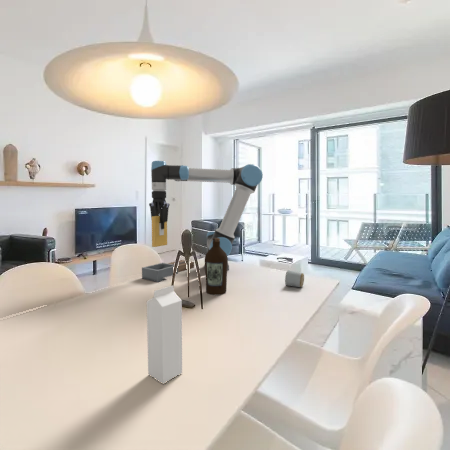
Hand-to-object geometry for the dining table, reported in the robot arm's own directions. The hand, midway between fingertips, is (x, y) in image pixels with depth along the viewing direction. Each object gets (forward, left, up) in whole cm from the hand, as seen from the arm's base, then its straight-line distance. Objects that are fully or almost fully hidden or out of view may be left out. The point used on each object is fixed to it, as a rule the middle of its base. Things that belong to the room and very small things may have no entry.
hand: (159, 234), depth 162 cm
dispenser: (0, -16, -23) cm, 28 cm away
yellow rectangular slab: (0, 0, -6) cm, 6 cm away
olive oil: (-40, +3, -23) cm, 46 cm away
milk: (-68, +63, -23) cm, 95 cm away
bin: (0, 0, -23) cm, 23 cm away
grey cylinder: (-65, -28, -24) cm, 75 cm away
